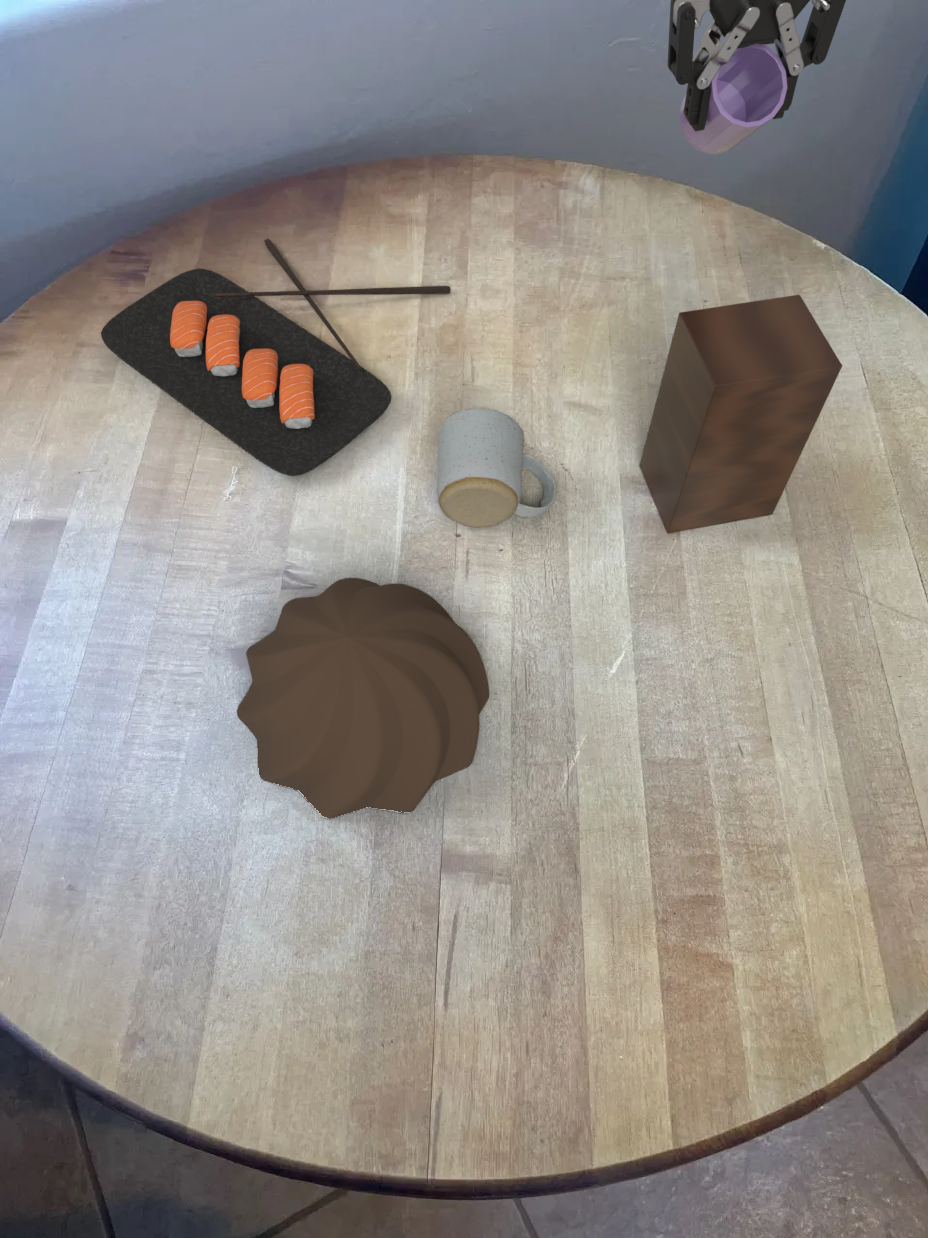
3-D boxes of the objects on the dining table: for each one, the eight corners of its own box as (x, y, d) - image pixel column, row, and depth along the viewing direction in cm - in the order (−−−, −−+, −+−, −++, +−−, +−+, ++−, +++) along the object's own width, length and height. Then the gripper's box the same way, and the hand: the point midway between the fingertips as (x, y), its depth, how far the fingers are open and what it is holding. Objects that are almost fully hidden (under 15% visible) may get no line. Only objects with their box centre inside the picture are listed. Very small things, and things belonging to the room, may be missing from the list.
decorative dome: (199, 784, 72) (166, 727, 64) (293, 573, 82) (275, 500, 74) (447, 852, 70) (447, 803, 61) (512, 627, 80) (520, 557, 71)
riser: (740, 448, 90) (799, 293, 75) (772, 515, 86) (843, 365, 71) (638, 465, 89) (678, 311, 74) (667, 534, 85) (715, 386, 70)
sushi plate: (93, 347, 96) (80, 317, 93) (308, 205, 108) (303, 174, 105) (296, 498, 87) (290, 470, 83) (507, 324, 99) (509, 294, 95)
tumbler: (743, 72, 87) (782, 36, 79) (751, 148, 88) (790, 120, 80) (675, 82, 86) (708, 47, 78) (684, 158, 87) (717, 131, 80)
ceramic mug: (435, 532, 85) (436, 476, 78) (438, 461, 89) (439, 402, 82) (555, 536, 85) (566, 480, 78) (552, 465, 89) (562, 406, 83)
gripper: (853, -141, 72) (796, 86, 86) (668, -117, 71) (641, 109, 84) (898, -100, 68) (831, 131, 82) (702, -74, 66) (668, 156, 80)
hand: (734, 119), depth 83 cm, fingers closed on tumbler, 6 cm apart
